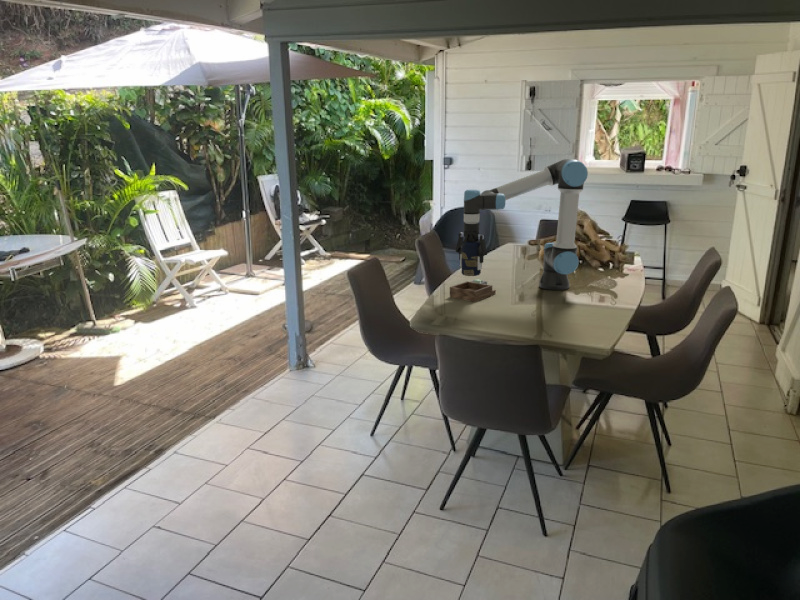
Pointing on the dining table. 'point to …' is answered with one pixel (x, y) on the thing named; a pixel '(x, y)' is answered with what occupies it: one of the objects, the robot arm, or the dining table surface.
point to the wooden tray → (471, 291)
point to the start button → (477, 281)
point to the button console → (481, 282)
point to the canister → (470, 258)
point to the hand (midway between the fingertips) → (471, 268)
